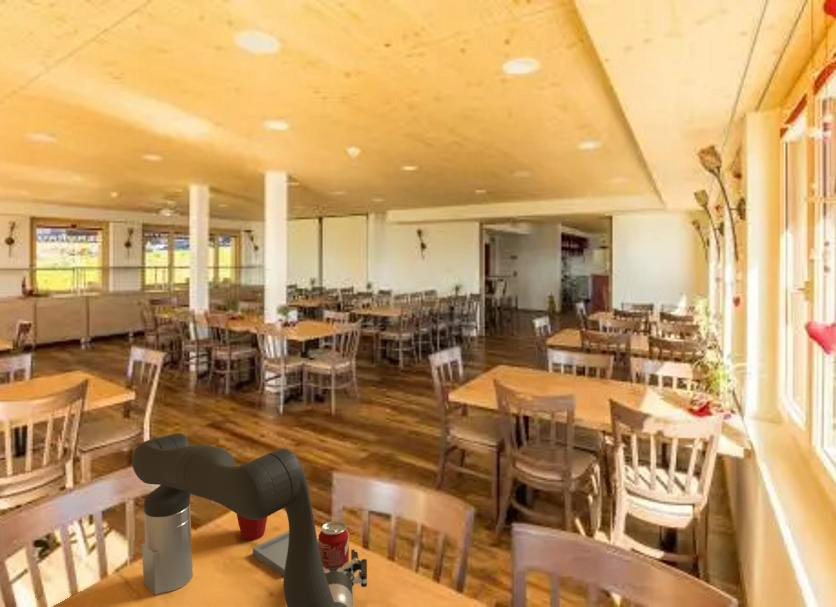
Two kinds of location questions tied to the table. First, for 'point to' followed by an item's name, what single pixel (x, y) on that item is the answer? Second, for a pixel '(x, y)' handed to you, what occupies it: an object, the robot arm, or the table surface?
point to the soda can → (334, 544)
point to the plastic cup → (251, 528)
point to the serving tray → (274, 552)
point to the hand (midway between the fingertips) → (333, 554)
